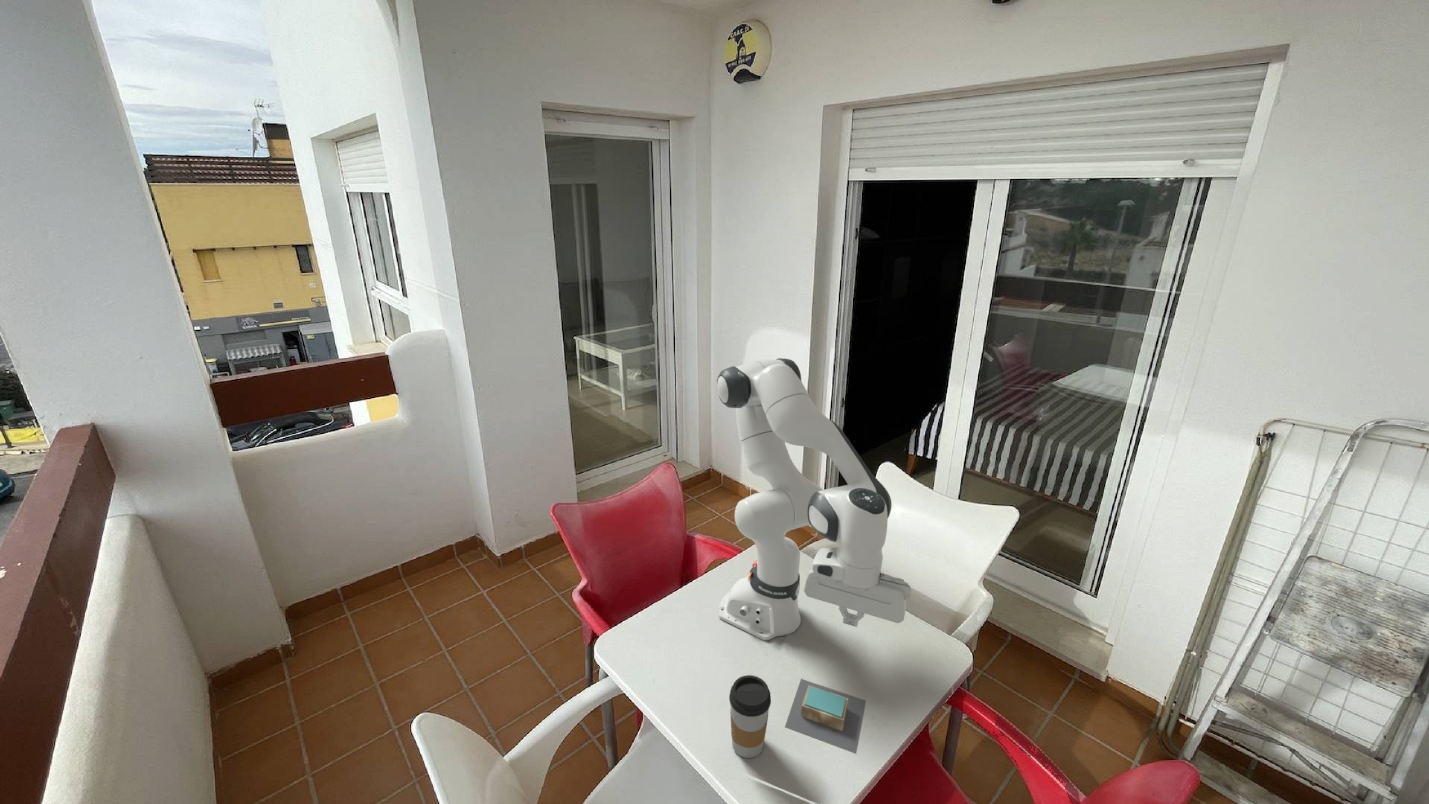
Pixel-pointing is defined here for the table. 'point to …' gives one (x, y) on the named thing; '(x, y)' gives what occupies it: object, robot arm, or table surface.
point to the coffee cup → (749, 715)
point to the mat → (823, 732)
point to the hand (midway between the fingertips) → (850, 623)
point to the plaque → (824, 707)
